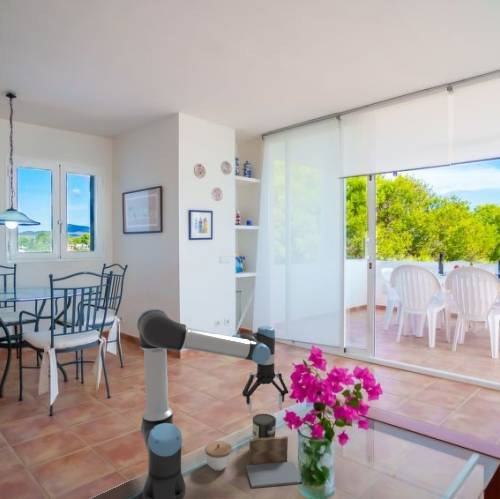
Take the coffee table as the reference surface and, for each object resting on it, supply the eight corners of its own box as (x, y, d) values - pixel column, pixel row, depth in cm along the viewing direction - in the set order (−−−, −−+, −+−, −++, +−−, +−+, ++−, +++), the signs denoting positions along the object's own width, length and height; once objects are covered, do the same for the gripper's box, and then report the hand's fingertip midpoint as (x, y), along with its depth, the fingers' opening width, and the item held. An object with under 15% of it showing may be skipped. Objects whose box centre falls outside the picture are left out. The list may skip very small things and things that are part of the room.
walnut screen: (249, 464, 164) (250, 440, 164) (249, 462, 166) (249, 438, 165) (287, 461, 167) (287, 438, 167) (286, 459, 169) (286, 436, 168)
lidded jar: (219, 477, 155) (219, 454, 155) (199, 467, 162) (199, 444, 161) (236, 465, 164) (237, 442, 163) (217, 455, 170) (217, 434, 170)
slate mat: (251, 487, 150) (251, 485, 150) (245, 467, 162) (245, 465, 162) (302, 482, 153) (302, 480, 153) (292, 463, 166) (292, 461, 166)
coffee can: (279, 448, 177) (280, 417, 176) (267, 459, 168) (268, 426, 168) (259, 441, 183) (260, 411, 182) (247, 451, 174) (248, 420, 173)
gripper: (238, 366, 168) (238, 416, 169) (296, 363, 172) (295, 411, 173) (236, 360, 175) (235, 408, 176) (291, 358, 180) (290, 404, 181)
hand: (265, 410), depth 175 cm, fingers open, 13 cm apart
